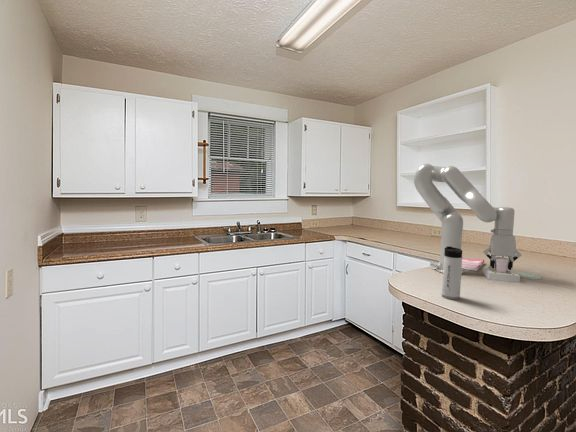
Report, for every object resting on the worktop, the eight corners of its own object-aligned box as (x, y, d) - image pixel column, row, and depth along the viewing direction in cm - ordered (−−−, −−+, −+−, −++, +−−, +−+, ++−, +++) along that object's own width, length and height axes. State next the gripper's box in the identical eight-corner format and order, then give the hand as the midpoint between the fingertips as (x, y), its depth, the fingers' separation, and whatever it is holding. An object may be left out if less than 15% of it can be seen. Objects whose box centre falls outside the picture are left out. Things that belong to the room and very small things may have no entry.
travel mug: (453, 294, 123) (456, 246, 121) (463, 300, 116) (466, 249, 114) (438, 294, 123) (440, 246, 121) (447, 300, 116) (450, 249, 114)
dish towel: (485, 264, 175) (485, 259, 175) (477, 272, 158) (477, 266, 158) (453, 260, 186) (453, 254, 186) (442, 266, 169) (442, 260, 169)
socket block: (489, 279, 144) (489, 271, 143) (483, 273, 155) (483, 265, 155) (519, 282, 139) (519, 274, 139) (510, 275, 150) (511, 267, 150)
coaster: (520, 278, 147) (520, 276, 147) (513, 272, 156) (513, 271, 156) (545, 280, 143) (545, 279, 143) (536, 275, 152) (536, 273, 152)
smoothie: (501, 279, 143) (503, 251, 142) (489, 276, 149) (491, 248, 148) (511, 279, 145) (513, 250, 144) (499, 275, 151) (501, 248, 150)
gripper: (484, 232, 145) (482, 268, 146) (528, 234, 139) (525, 272, 140) (480, 230, 152) (478, 265, 153) (522, 232, 145) (519, 268, 147)
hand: (500, 268), depth 147 cm, fingers closed on smoothie, 6 cm apart
